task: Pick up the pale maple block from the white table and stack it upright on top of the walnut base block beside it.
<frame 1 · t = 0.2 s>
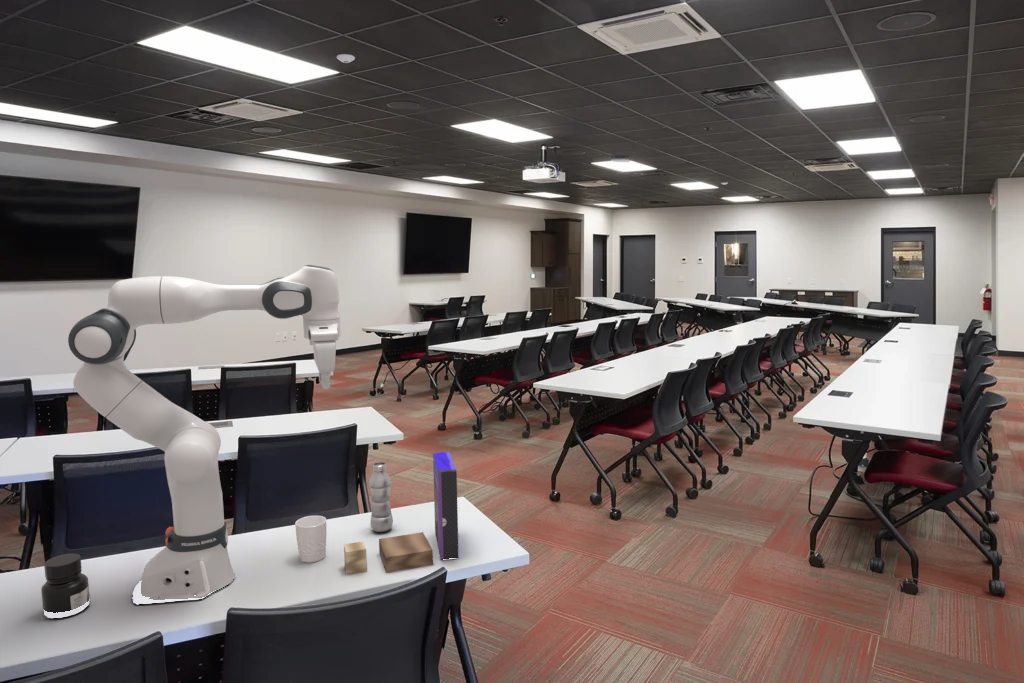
hand: (324, 384, 167), 47 cm above the table, tool pointing down, fingers open, 8 cm apart
ink bottle: (67, 611, 151), on the table
cereal box: (446, 546, 182), on the table
walnut base: (405, 558, 174), on the table
maple block: (355, 569, 169), on the table
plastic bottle: (382, 530, 193), on the table
white cup: (312, 557, 176), on the table
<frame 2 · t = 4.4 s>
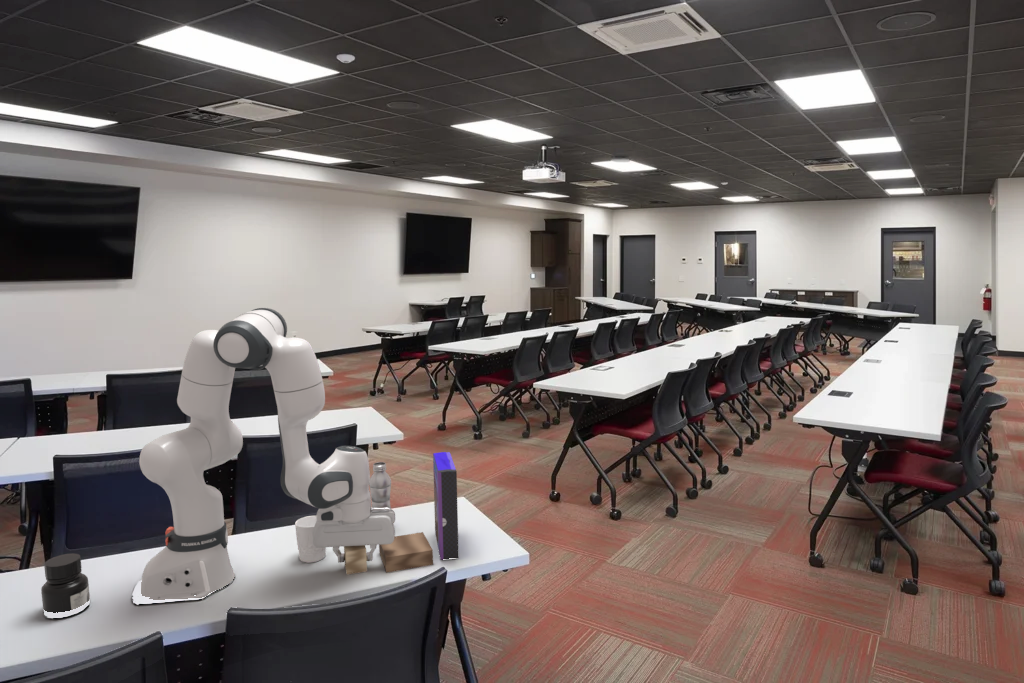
hand: (355, 560, 169), 2 cm above the table, tool pointing down, fingers closed on maple block, 6 cm apart
maple block: (355, 568, 169), on the table, touching gripper
everything else where it was.
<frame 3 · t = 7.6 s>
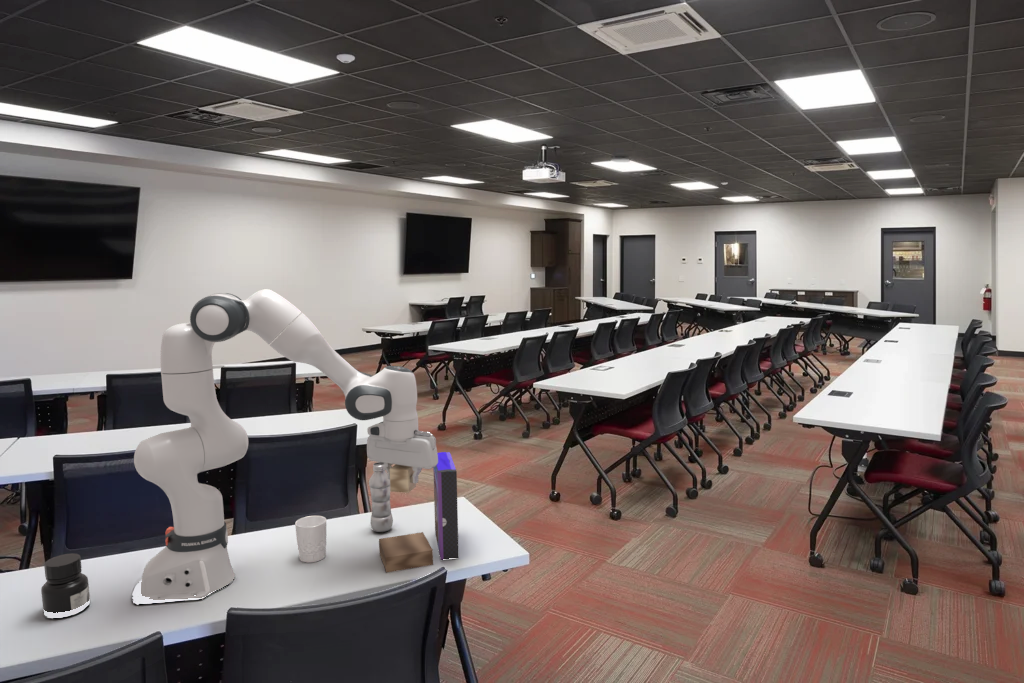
hand: (403, 480, 172), 21 cm above the table, tool pointing down, fingers closed on maple block, 6 cm apart
maple block: (403, 488, 172), point 19 cm above the table, touching gripper
everything else where it was.
when the fingers open (8 cm above the table, at t = 11.0 s): maple block drops 1 cm, resting on walnut base.
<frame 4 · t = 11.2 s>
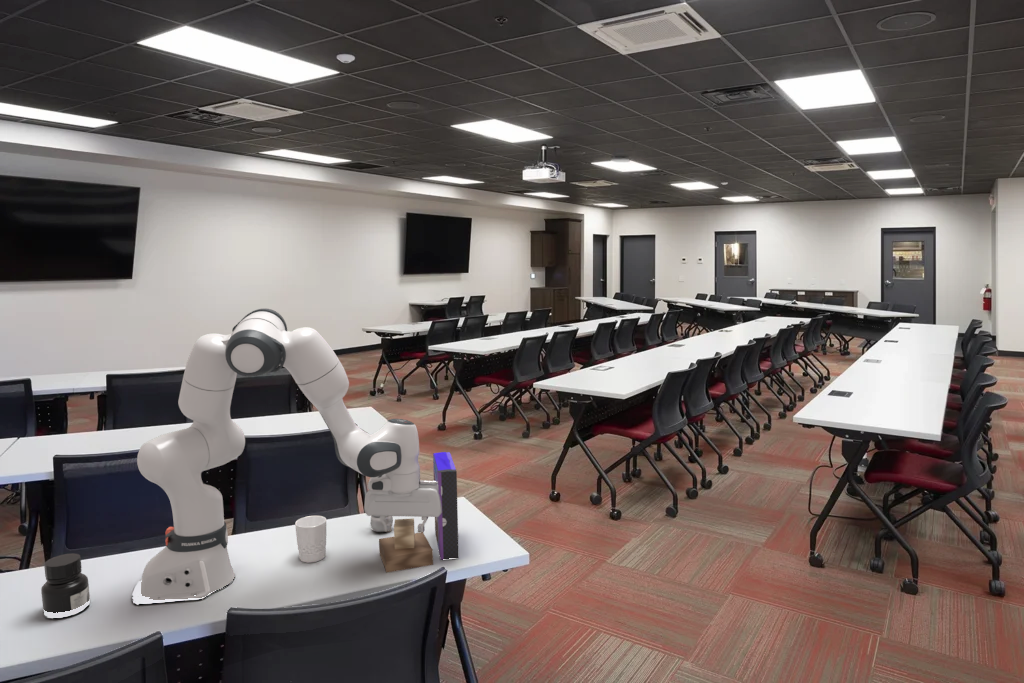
hand: (404, 531, 174), 8 cm above the table, tool pointing down, fingers open, 7 cm apart
maple block: (404, 544, 174), point 4 cm above the table, touching walnut base
everything else where it was.
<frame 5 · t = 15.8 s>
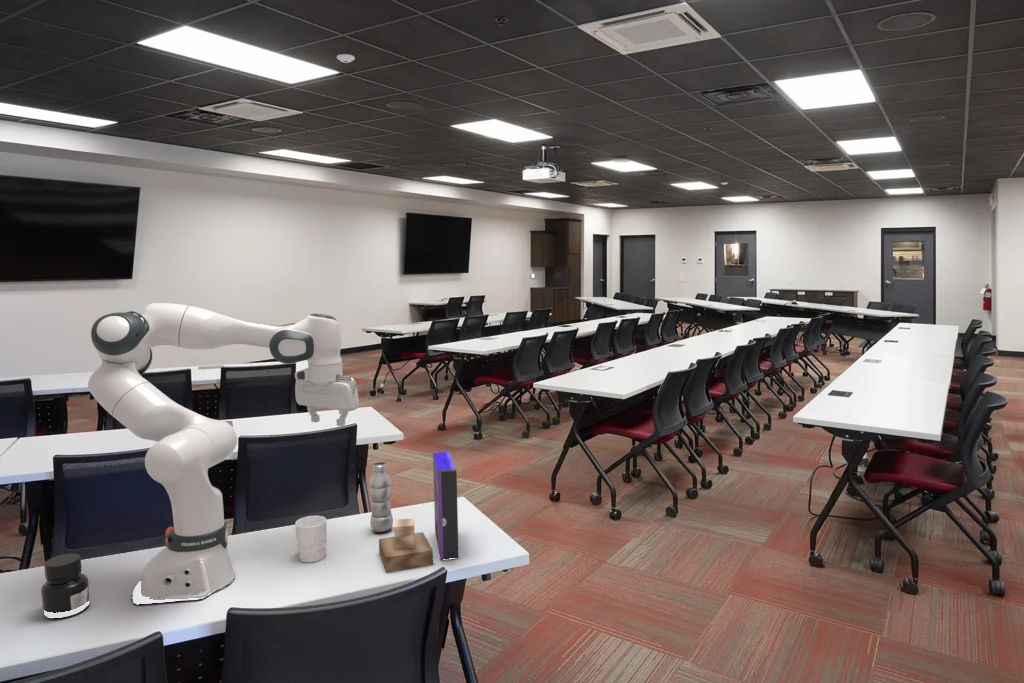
hand: (328, 423, 180), 34 cm above the table, tool pointing down, fingers open, 8 cm apart
nothing on the table moved.
at the end: maple block inside the target area on the walnut base (0.1 cm from its centre), point 4.0 cm above the walnut base's base; maple block tilted 0°; the gripper is holding nothing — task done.
